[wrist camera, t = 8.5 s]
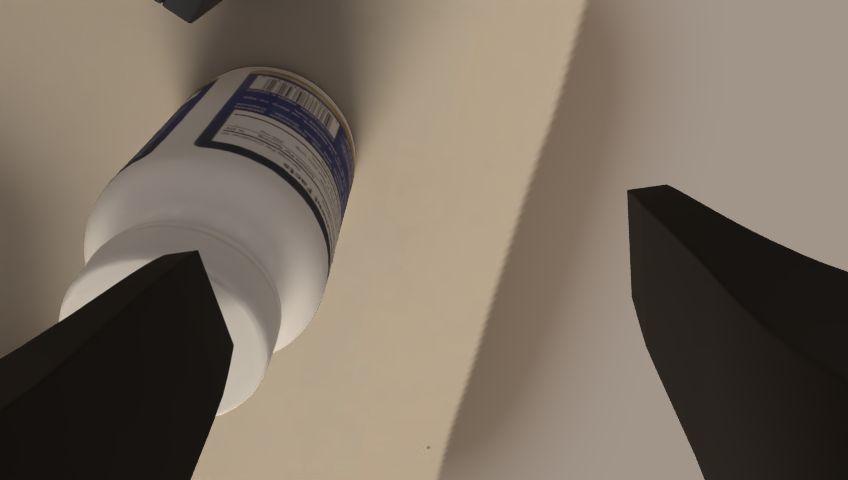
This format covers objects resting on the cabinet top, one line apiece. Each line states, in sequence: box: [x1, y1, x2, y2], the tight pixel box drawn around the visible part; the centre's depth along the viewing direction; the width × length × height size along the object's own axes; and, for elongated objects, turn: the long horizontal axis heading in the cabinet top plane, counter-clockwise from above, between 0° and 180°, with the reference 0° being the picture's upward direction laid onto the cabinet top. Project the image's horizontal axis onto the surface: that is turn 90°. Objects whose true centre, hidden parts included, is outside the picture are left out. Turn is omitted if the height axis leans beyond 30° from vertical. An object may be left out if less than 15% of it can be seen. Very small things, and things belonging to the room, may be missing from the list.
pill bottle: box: [59, 67, 355, 417], centre depth 18 cm, size 5×5×10 cm
